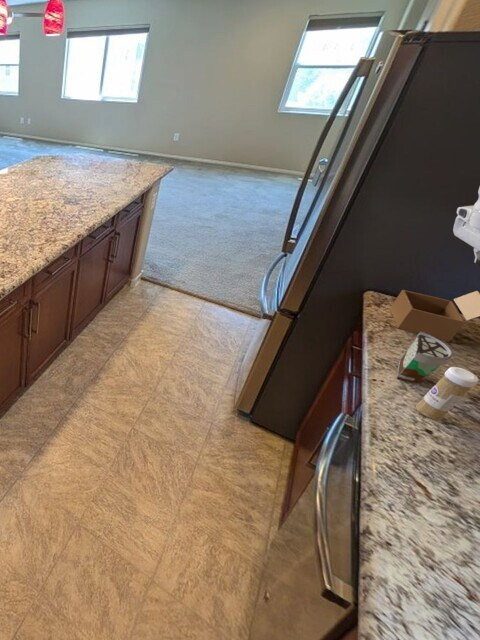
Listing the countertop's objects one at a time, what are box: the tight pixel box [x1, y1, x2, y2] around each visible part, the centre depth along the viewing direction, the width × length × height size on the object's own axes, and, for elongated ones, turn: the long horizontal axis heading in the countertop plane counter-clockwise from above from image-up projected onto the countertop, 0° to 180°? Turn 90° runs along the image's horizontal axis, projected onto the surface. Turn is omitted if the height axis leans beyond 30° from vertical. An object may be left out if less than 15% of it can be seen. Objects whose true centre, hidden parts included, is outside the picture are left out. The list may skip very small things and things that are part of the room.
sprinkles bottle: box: [415, 366, 480, 421], centre depth 89 cm, size 5×5×13 cm
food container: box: [396, 332, 452, 384], centre depth 100 cm, size 12×6×10 cm, turn 132°
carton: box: [389, 289, 466, 343], centre depth 118 cm, size 11×12×8 cm
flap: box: [453, 290, 480, 322], centre depth 111 cm, size 5×12×1 cm
